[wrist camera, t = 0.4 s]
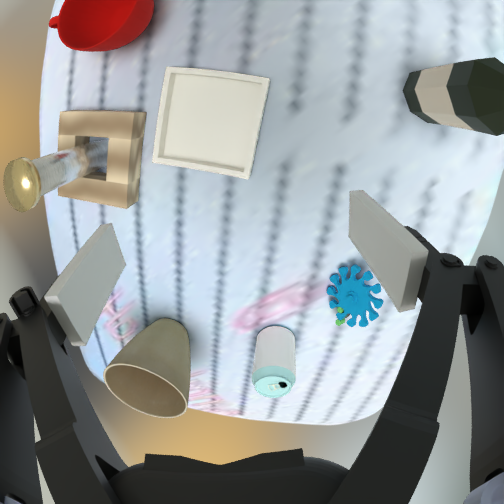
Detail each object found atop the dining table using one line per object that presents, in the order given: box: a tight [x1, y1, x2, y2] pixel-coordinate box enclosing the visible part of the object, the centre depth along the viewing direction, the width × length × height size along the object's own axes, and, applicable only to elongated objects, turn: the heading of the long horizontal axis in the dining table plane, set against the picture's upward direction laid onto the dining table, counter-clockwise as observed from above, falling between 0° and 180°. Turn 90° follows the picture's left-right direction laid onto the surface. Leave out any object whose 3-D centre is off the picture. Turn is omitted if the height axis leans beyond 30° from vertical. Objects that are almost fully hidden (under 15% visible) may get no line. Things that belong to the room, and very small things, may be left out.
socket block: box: [58, 110, 147, 209], centre depth 39 cm, size 14×14×4 cm
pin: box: [3, 139, 109, 212], centre depth 32 cm, size 6×6×19 cm
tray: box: [152, 67, 270, 179], centre depth 36 cm, size 14×14×3 cm
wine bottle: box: [403, 57, 504, 136], centre depth 18 cm, size 8×8×30 cm
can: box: [252, 326, 295, 398], centre depth 48 cm, size 7×7×12 cm
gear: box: [327, 265, 383, 327], centre depth 45 cm, size 11×6×10 cm
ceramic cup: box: [49, 0, 154, 52], centre depth 26 cm, size 13×17×10 cm
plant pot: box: [103, 318, 191, 418], centre depth 49 cm, size 15×15×16 cm
